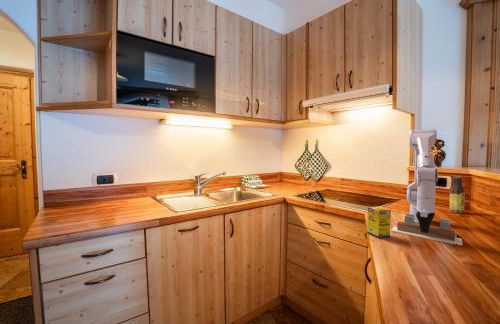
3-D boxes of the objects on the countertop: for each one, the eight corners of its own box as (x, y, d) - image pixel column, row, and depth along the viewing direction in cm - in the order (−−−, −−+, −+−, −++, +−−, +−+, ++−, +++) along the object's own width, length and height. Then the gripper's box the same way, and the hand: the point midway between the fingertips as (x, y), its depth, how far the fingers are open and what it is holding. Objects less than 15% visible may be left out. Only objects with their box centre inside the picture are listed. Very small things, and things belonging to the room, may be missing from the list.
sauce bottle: (464, 214, 124) (466, 177, 123) (449, 212, 127) (450, 177, 127) (463, 212, 129) (464, 176, 128) (448, 210, 133) (449, 176, 132)
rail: (398, 228, 99) (398, 221, 99) (454, 238, 87) (454, 230, 87) (397, 230, 96) (397, 223, 96) (454, 241, 85) (454, 233, 84)
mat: (394, 227, 102) (394, 226, 102) (461, 240, 87) (461, 238, 87) (391, 231, 96) (391, 230, 96) (462, 245, 82) (462, 244, 82)
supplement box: (378, 238, 89) (379, 210, 88) (366, 233, 94) (367, 206, 94) (390, 237, 90) (391, 209, 90) (378, 232, 96) (379, 206, 96)
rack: (401, 224, 106) (401, 212, 106) (456, 234, 94) (456, 220, 94) (398, 227, 102) (399, 215, 101) (456, 238, 89) (457, 224, 89)
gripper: (415, 193, 99) (414, 224, 100) (411, 198, 88) (410, 233, 89) (436, 195, 94) (435, 228, 95) (434, 201, 84) (433, 238, 84)
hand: (424, 231), depth 92 cm, fingers closed on rail, 3 cm apart
